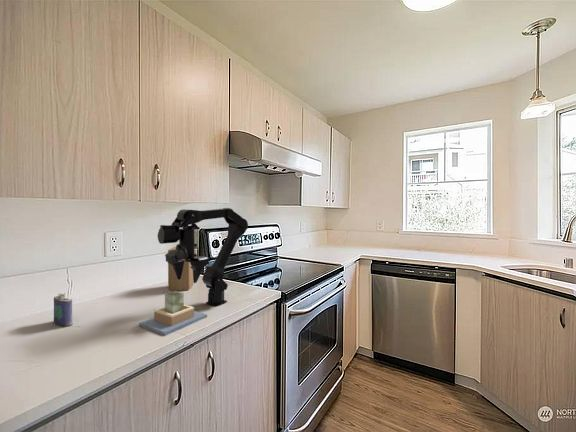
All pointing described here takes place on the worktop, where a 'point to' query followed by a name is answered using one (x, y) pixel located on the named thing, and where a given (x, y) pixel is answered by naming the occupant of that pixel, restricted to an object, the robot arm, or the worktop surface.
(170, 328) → the build base
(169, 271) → the wooden block
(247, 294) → the worktop surface
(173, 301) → the sage block
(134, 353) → the worktop surface
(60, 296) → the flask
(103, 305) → the worktop surface
